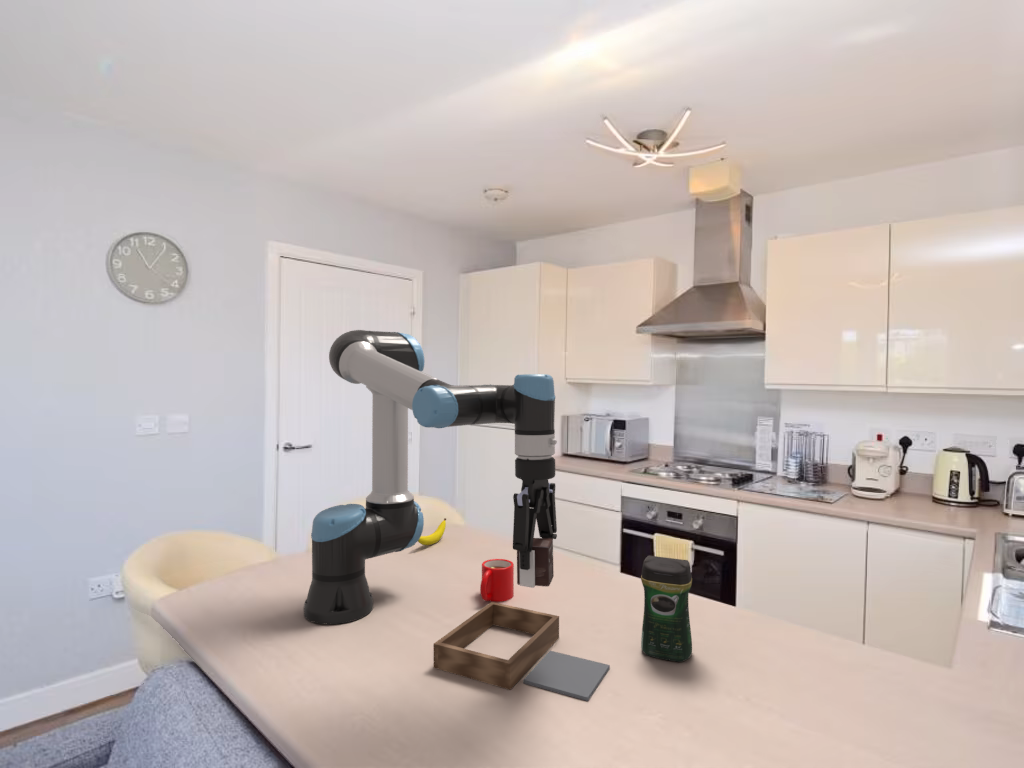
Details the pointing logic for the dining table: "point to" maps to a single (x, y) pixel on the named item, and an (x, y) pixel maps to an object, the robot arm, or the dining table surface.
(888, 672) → the dining table surface
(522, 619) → the walnut crate
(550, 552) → the box
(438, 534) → the banana
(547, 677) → the slate mat
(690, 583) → the coffee jar
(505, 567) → the mug
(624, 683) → the dining table surface
